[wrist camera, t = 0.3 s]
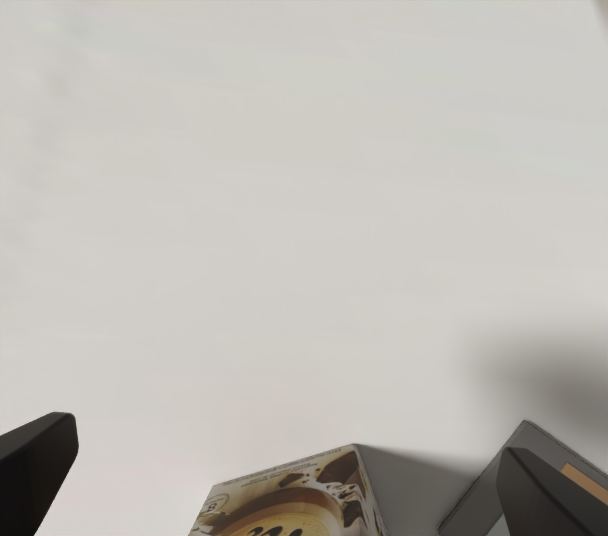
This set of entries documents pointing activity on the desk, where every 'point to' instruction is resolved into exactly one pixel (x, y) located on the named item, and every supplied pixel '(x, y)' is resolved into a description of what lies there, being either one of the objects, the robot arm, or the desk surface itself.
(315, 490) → the coffee box
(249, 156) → the desk surface
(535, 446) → the card
